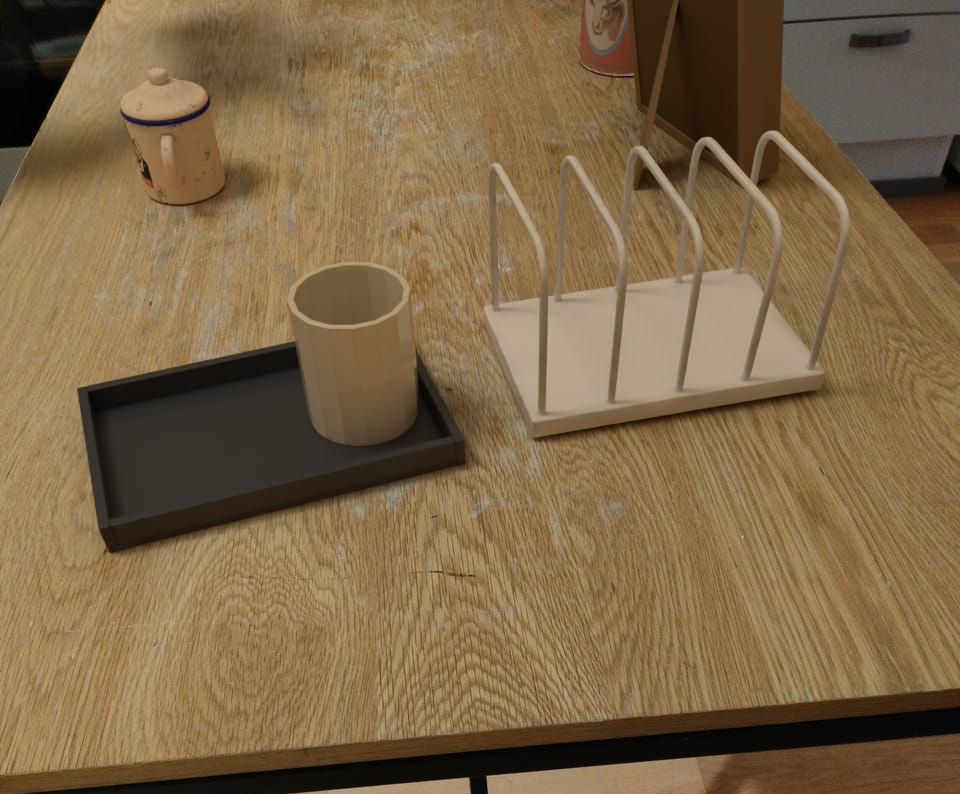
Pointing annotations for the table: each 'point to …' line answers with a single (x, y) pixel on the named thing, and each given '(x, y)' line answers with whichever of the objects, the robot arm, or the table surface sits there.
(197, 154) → the teacup with lid
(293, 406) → the tray
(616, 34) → the canned food
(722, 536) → the table surface
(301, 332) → the cream cup
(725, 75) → the photo frame
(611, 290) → the file sorter
